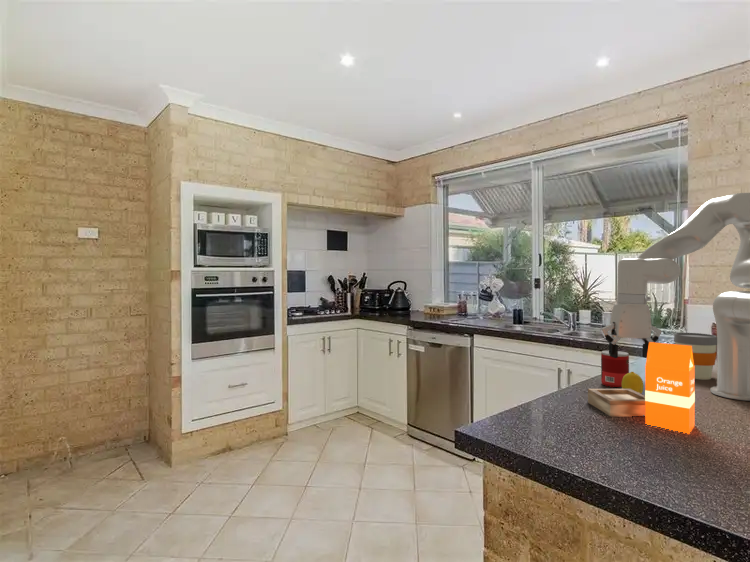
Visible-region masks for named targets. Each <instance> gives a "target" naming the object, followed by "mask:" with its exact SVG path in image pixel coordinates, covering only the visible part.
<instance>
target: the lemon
mask: <svg viewBox="0 0 750 562" xmlns="http://www.w3.org/2000/svg"><path fill="white" fill-rule="evenodd" d="M621 389H632V390H634V391H636V392H638V393H641V394H642V393H643V392H644V391H643V390H644V381H643V378H642V377H641V376H640V375H639V374H637V373H635V372H634V371H629V373H627V374H626V375H625V376H624V377H623V379H622V388H621Z"/></svg>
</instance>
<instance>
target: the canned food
mask: <svg viewBox="0 0 750 562" xmlns="http://www.w3.org/2000/svg"><path fill="white" fill-rule="evenodd" d="M600 358H601V359H600V362H601V364H600V370H601V375H600V376H601V377H600V378H601V385H603V386H604V385H605V386H604V387H608V386H610V387H609V388H613V387H622V379H623V377H624V376H625V375H626V374H627V373H630V354H629V353H628V352H626V351H620V350H618V358H613V357H611V356H610V354H609V350H602V351H601V354H600Z"/></svg>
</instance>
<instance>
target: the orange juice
mask: <svg viewBox="0 0 750 562" xmlns="http://www.w3.org/2000/svg"><path fill="white" fill-rule="evenodd" d="M645 360H646V361H645V366H644V367H645V368H644V370H645V371H644V372H645V374H644V375H645V380H644V382H645V384H644V388H645V389H644V395H645V417H644V420H645V423H644V424H647V425H651V426H650V427H652V426H657V427H661V428H665V429H664V430H666V429H669V430H668V431H671V430H673V431H672V432H675V431H678V432H677V433H680V432H683V433H682V434H685V433H687V434H686V435H690V434H691V433H692V431H693V429H694V428H695V424H696V421H695V419H696V418H695V415H696V414H695V413H696V412H695V409H696V408H695V407H696V406H695V402H696V394H695V393H696V391H695V383H696V382H695V380H696V379H695V366H694V361H693V353H692V346H688V345H677V344H675V343H664V342H663V343H662V342H649V346H648V353H647V358H645ZM647 425H646V426H647ZM657 427H656V428H657ZM661 428H660V429H661ZM690 432H691V433H690Z"/></svg>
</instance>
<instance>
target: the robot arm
mask: <svg viewBox="0 0 750 562" xmlns="http://www.w3.org/2000/svg"><path fill="white" fill-rule="evenodd" d="M728 225H733V226H734V228H735V229H736V231H737V233H738V235H739V238H740V241H739V242H740V243H739V246H738V247H739V248H738V249H737V252H736V256H735V258H734V261H733V264H732V266H731V267H732V268H731V269H730V273H729V280H730V282H731V284H733V286H735V287H738V288H743V289H750V192H738V193H732V194H729V195H724V196H720V197H719V196H718V197H714V198H711V199H709V200H708V201H706V202H704V203H703V204H702V205H701V206H700V207H699V208H698V209H697V210H696V211H695V212H694V213H693V214H692V215H691V216H690V217H689V218H688V219H687V220H686V221H685V222H683V224H681V226H680V227H678V228H677V229H676V230H675V231H672V232H671V233H669V234H668V235H666V236H664V237H663V238H661V239H660V240H658V241H656V242H654V243H653V244H651V245H650V246H648V247H647V248H646V249H645V250H644V251H643V252H641V254H640V255H638V257H636V258H621V259H620V260H619V261H618V262H617V283H616V284H617V289H616V293H617V294H616V303H613V306H612V309H611V313H610V315H611V316H610V322H609V324H607V325H605V326H604V327H602V328H601V327H600V332H601V334H602V337H603V339H604V340H605V341H606V342H607V343H608V351H609V354H610V356H611V357H613V358H618V351H619V345H618V344H617V343H618V342H619V341H620V339H632V340H634V339H637V340H638V339H639V340H640V339H641V340H642V341H643V343H642V350H641V351H642V353H641V355H642V357H643V358H645V359H647V353H648V346H649V342H655V343H657V342H658V340H659V337H660V336H661V335H662V331H663V330H661V329H659V328H657V327H656V326H654V325H652V317H651V316H652V315H651V310H650V306H649V305H648V302H650V301H651V299H652V298H651V296H648V284H656V285H657V284H658V285H661V284H662V285H667V284H670V283H673V282H675V281H676V280H677V279H678V278H679V277H680V274H681V267H680V264H678V263H677V261H675V259H677V258H680V257H683V256H687V255H689V254H692V253H695V252H698V251H699V250H701V249H703V248H705V246H707V245H708V244H709V243H710V242H711V241H712V240H713V239H714V238H715V237H716V236H717V235H718V234H719V233H720V232H721V231H722V230H724V228H725V227H726V226H728ZM712 311H713V312H712V313H713V316H714V320H715V324H716V336H717V345H716V352H717V354H716V386H711V387H710V392H711V394H713V395H716V396H719V397H722V398H726V399H732V400H736V401H737V400H738V401H747V402H748V401H749V402H750V291H747V290H745V291H744V290H729V291H724V292H722V293H720V294H718V295H717V296H716V297H715V298H714V300H713V302H712Z"/></svg>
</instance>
